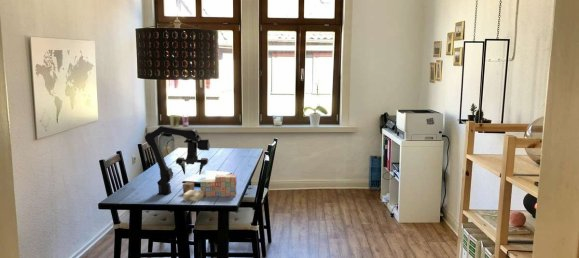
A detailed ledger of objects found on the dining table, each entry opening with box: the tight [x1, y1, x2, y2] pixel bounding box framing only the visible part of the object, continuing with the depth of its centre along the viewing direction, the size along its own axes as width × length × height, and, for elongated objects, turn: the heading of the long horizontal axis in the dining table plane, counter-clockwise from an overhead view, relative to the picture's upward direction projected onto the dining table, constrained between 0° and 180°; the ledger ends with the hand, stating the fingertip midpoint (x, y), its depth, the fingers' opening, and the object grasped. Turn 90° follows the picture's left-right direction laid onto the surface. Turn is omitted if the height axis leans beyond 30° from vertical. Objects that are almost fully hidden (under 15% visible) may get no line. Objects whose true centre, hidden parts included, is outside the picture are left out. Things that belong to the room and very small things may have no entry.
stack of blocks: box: [200, 174, 237, 197], centre depth 277 cm, size 21×6×12 cm, turn 91°
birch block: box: [182, 189, 205, 202], centre depth 271 cm, size 9×9×4 cm
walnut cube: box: [182, 181, 195, 195], centre depth 282 cm, size 5×5×6 cm
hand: (192, 174), depth 278 cm, fingers open, 9 cm apart
